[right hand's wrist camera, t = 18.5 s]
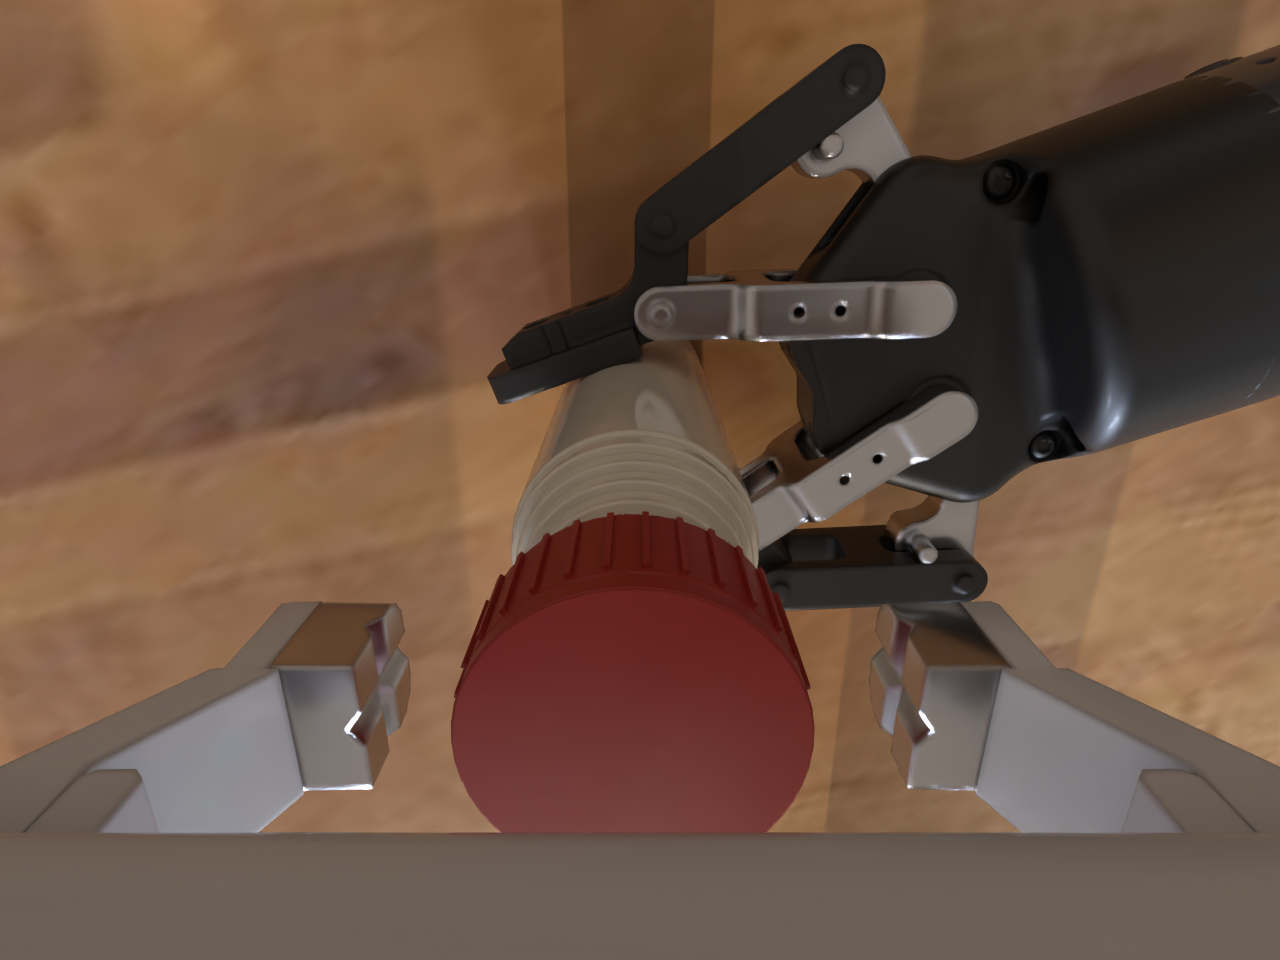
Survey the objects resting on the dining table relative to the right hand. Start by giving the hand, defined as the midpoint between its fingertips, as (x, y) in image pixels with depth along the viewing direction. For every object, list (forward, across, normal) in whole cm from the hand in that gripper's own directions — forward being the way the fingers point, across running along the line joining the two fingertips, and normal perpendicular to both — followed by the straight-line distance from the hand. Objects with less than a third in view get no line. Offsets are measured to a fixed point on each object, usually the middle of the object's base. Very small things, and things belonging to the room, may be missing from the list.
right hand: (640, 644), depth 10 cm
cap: (-2, 0, 0) cm, 2 cm away
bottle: (+16, 0, 0) cm, 16 cm away
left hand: (+9, -3, -1) cm, 10 cm away
